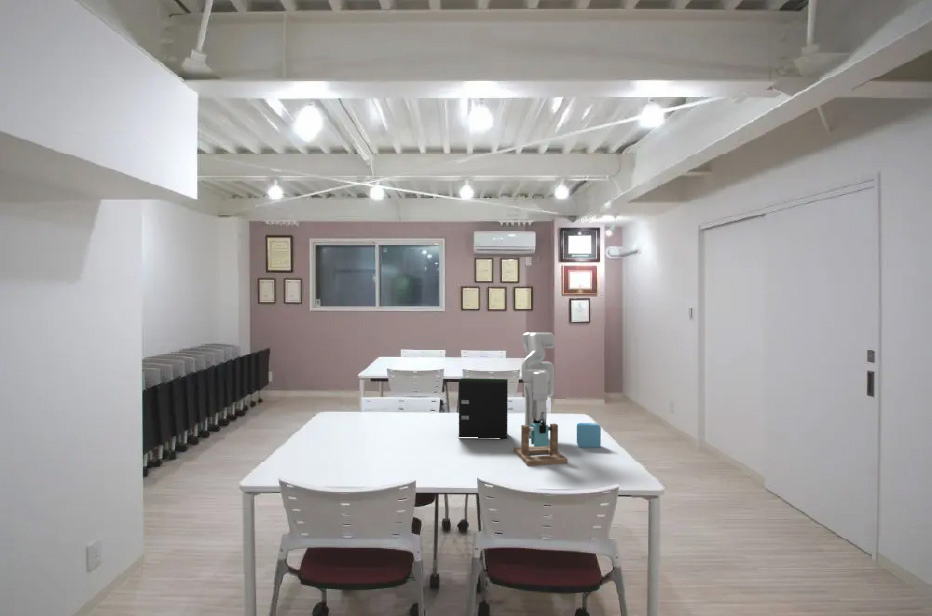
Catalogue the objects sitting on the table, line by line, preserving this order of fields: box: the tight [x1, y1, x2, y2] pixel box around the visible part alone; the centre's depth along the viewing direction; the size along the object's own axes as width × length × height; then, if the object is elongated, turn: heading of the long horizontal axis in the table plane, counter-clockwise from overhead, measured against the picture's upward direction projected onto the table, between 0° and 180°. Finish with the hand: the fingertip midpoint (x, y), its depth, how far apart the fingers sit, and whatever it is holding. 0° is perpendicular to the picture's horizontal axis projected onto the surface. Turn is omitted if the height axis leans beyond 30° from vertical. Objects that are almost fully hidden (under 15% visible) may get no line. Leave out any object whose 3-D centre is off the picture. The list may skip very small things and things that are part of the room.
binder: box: [458, 377, 509, 440], centre depth 307 cm, size 27×15×32 cm, turn 85°
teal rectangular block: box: [530, 423, 549, 447], centre depth 267 cm, size 6×7×10 cm
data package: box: [576, 422, 602, 448], centre depth 287 cm, size 12×4×12 cm, turn 87°
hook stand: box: [513, 423, 568, 466], centre depth 267 cm, size 24×20×16 cm
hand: (539, 430), depth 267 cm, fingers open, 9 cm apart
